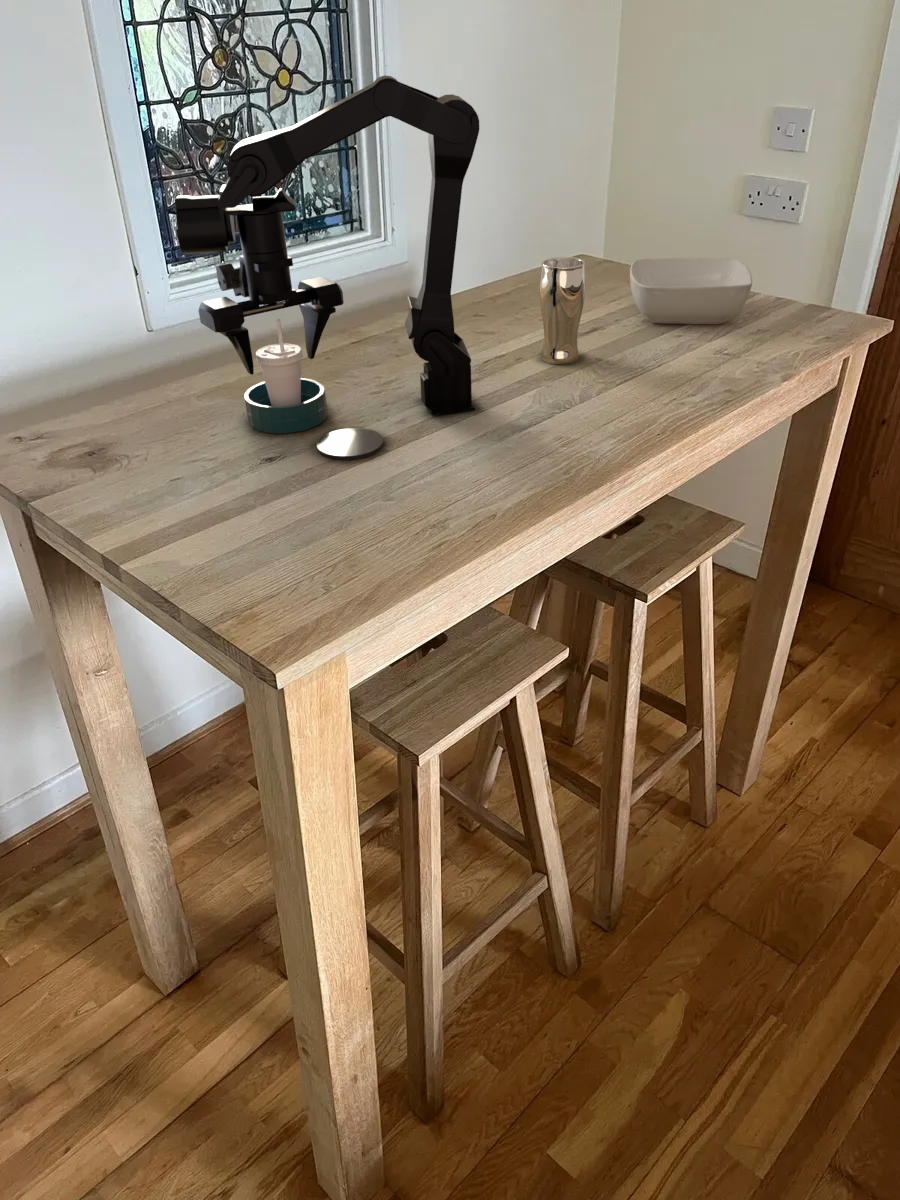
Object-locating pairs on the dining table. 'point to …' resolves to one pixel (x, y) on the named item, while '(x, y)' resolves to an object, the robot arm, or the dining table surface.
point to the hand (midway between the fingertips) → (281, 365)
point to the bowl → (689, 289)
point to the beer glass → (561, 307)
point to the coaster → (349, 444)
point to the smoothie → (281, 371)
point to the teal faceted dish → (286, 409)
